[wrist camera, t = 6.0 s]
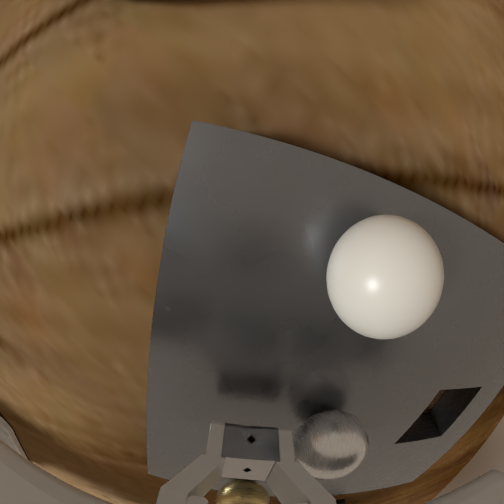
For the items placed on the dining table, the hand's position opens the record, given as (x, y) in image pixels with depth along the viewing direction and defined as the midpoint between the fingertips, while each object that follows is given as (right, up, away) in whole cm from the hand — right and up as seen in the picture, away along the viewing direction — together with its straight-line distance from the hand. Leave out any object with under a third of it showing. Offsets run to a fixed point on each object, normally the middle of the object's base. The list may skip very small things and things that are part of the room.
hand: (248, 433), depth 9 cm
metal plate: (+6, -1, +4) cm, 8 cm away
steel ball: (+3, -1, 0) cm, 3 cm away
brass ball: (0, -8, +2) cm, 8 cm away
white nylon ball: (+4, +6, -2) cm, 8 cm away
